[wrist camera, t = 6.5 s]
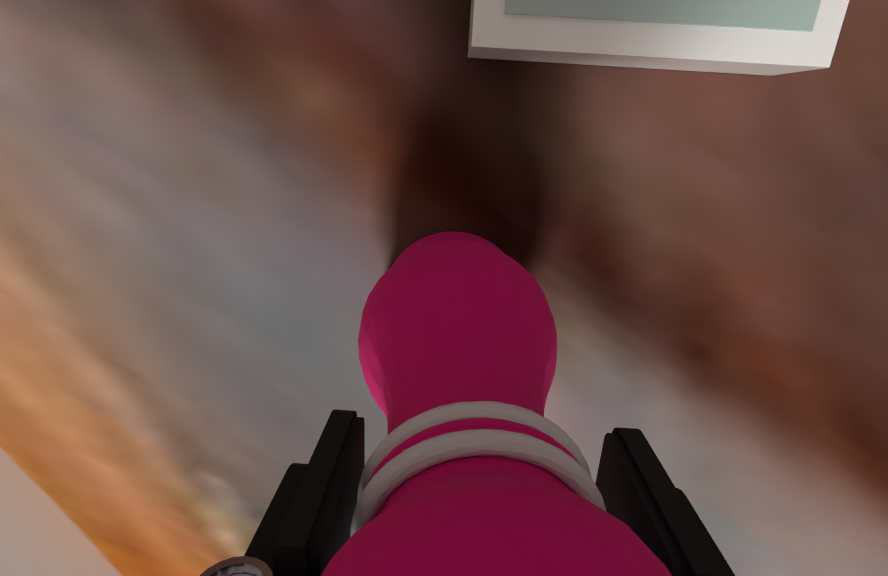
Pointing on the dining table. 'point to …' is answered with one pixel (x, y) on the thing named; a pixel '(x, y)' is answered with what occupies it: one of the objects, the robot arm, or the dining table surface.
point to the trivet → (661, 33)
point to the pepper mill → (473, 431)
